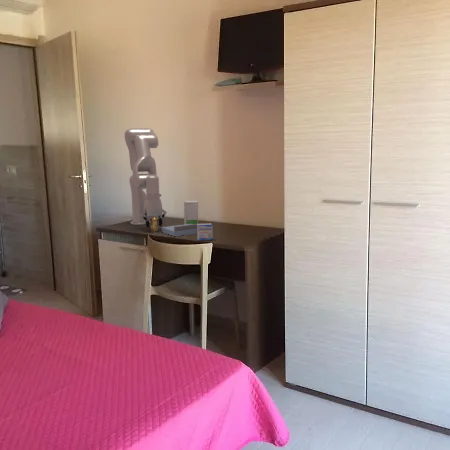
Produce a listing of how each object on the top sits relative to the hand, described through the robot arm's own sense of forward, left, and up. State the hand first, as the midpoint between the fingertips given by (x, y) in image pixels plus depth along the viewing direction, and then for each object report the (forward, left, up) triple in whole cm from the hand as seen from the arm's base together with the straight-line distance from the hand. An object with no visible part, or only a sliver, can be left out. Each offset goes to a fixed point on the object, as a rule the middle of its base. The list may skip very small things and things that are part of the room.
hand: (154, 226), depth 307 cm
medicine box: (+39, +12, -3) cm, 41 cm away
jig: (+14, +12, -3) cm, 19 cm away
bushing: (0, 0, -3) cm, 3 cm away
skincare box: (-2, +26, -3) cm, 26 cm away
